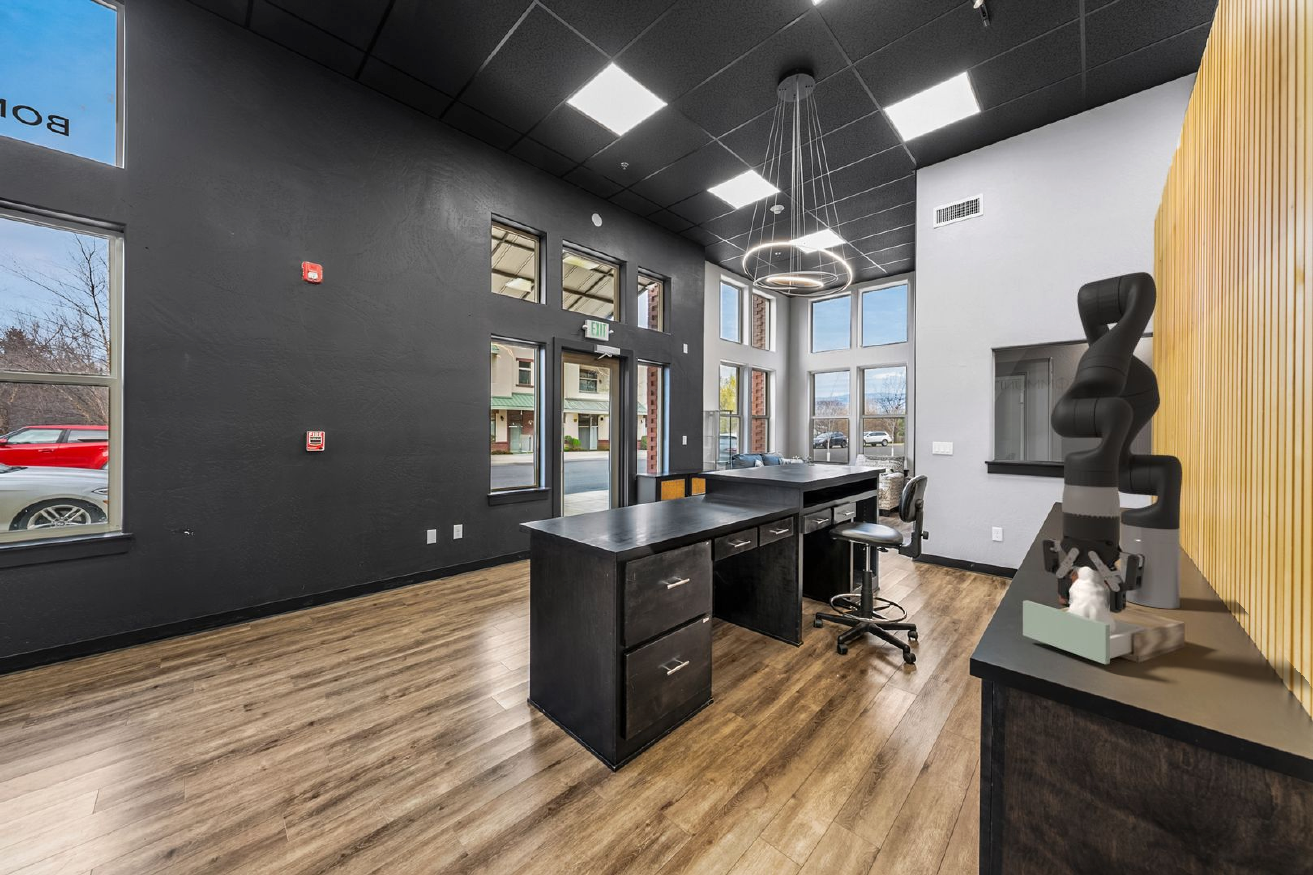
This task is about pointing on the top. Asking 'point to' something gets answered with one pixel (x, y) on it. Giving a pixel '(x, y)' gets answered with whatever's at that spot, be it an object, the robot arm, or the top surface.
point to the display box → (1151, 634)
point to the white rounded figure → (1091, 597)
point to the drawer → (1078, 632)
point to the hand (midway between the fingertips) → (1090, 604)
